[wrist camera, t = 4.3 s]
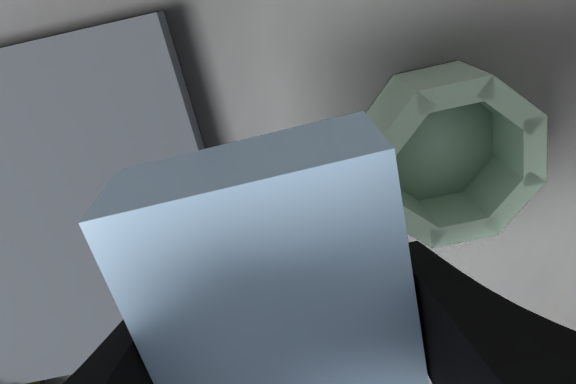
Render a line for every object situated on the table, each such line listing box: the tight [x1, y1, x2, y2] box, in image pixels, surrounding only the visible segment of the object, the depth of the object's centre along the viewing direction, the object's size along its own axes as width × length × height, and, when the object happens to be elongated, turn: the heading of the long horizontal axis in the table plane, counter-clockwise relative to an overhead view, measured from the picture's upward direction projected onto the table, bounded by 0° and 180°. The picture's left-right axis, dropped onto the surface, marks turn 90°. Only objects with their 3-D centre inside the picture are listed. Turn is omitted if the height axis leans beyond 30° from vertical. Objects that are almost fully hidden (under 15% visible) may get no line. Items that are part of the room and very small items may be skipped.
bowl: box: [366, 61, 547, 248], centre depth 18 cm, size 6×6×3 cm
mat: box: [0, 10, 205, 384], centre depth 19 cm, size 14×12×1 cm
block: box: [79, 111, 429, 384], centre depth 11 cm, size 8×6×3 cm
